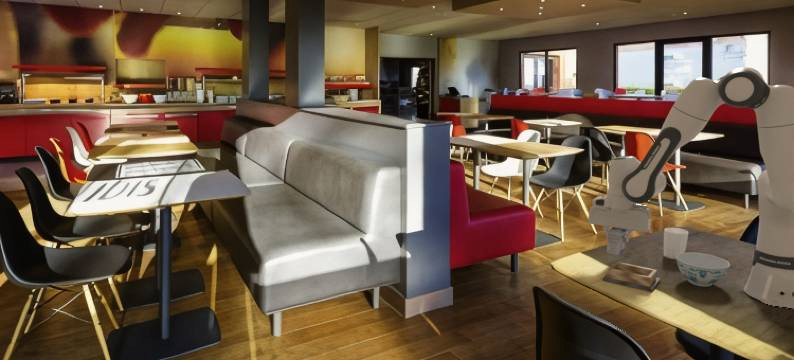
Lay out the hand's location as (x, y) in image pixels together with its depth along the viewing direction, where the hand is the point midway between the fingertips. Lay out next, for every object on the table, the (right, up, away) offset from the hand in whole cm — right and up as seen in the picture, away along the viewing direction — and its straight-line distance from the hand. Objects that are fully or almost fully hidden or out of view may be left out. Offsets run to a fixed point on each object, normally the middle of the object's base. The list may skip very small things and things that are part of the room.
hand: (617, 239), depth 186 cm
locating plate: (-1, -12, -14) cm, 18 cm away
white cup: (+25, -7, +9) cm, 27 cm away
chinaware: (+20, -12, -15) cm, 28 cm away
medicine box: (0, -5, +1) cm, 5 cm away
